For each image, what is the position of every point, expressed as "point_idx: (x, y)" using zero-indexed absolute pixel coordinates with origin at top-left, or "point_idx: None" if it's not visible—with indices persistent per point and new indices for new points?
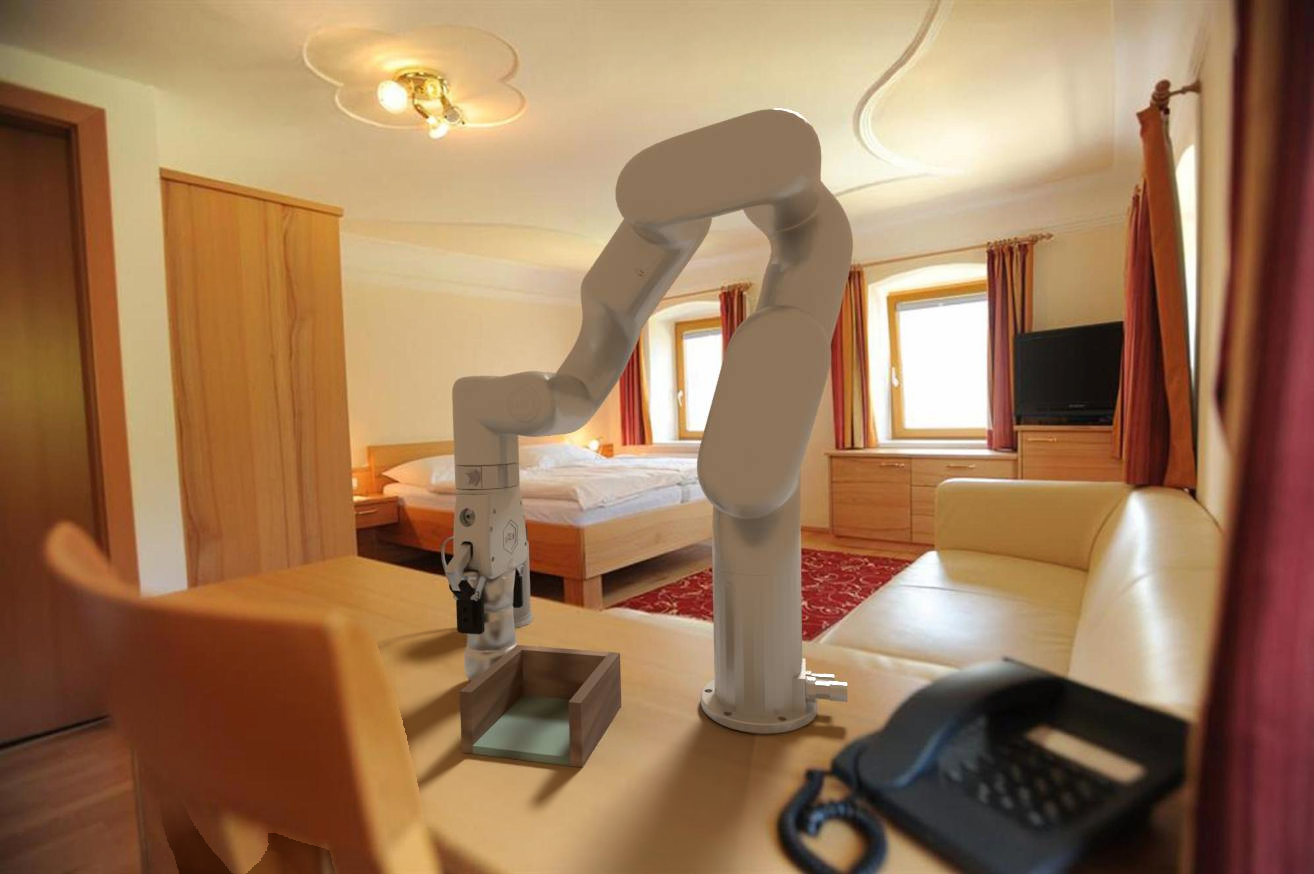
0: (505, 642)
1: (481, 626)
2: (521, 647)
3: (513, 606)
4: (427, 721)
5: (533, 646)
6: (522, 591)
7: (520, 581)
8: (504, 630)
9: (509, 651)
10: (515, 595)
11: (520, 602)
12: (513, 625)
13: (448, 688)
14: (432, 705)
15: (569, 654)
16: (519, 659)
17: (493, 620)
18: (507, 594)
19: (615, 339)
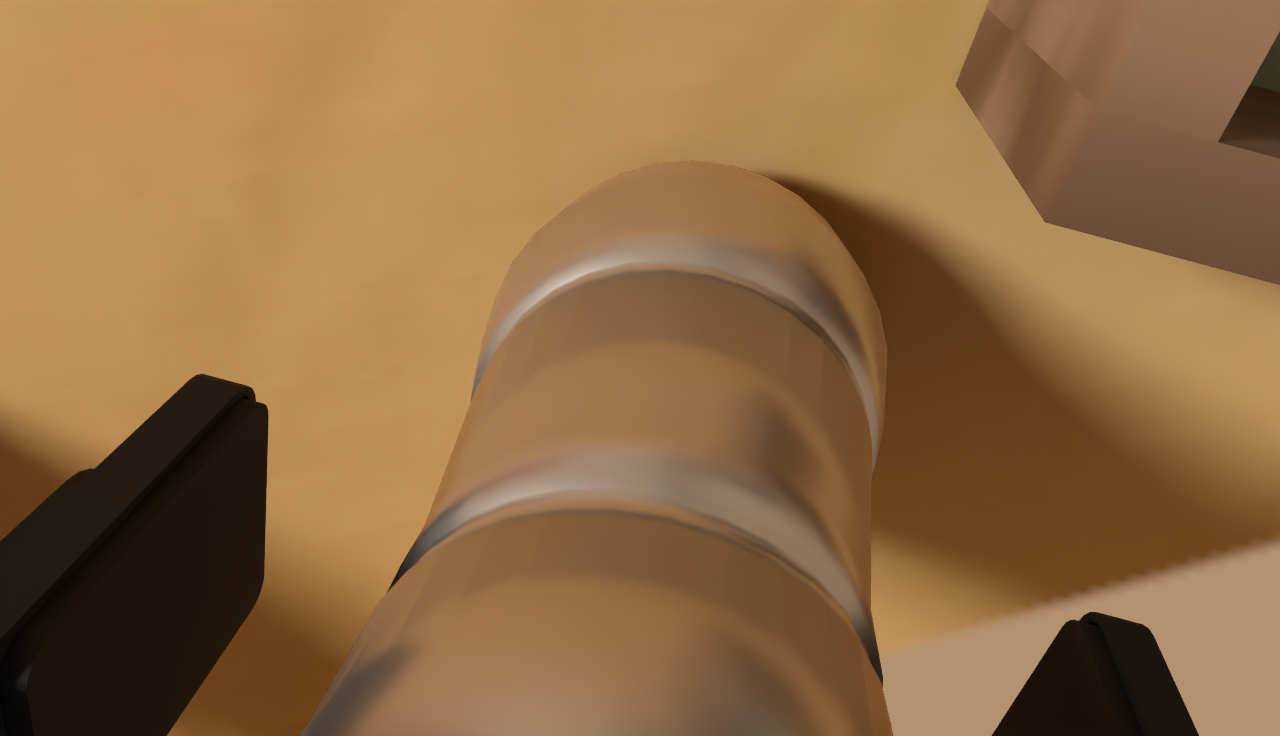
0: (814, 351)
1: (1173, 682)
2: (1137, 162)
3: (261, 462)
4: (1172, 530)
5: (1150, 22)
6: (96, 474)
7: (36, 604)
8: (803, 420)
9: (1223, 267)
10: (195, 524)
11: (224, 416)
12: (657, 358)
13: None
14: (975, 548)
15: None
16: (1246, 136)
17: (863, 591)
18: (752, 694)
19: None
